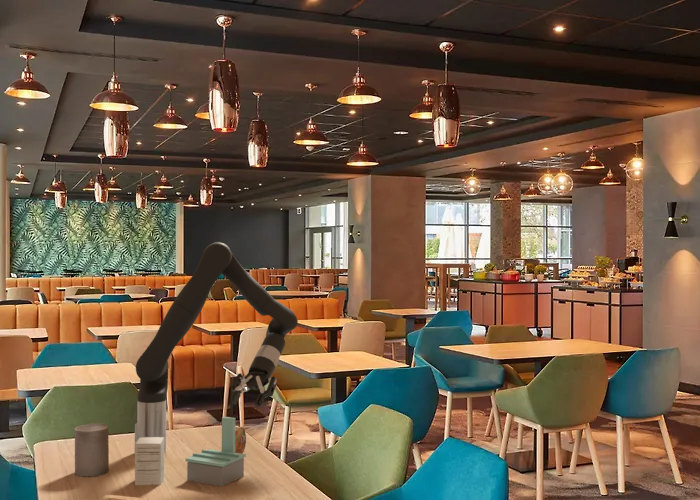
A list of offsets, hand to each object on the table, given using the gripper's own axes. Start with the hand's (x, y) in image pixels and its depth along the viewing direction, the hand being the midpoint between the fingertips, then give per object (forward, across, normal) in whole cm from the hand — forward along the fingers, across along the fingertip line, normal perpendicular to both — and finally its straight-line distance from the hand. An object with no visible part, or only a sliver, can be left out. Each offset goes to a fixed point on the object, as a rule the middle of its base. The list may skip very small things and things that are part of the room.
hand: (245, 404), depth 236 cm
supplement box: (+32, -15, -5) cm, 36 cm away
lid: (+20, 0, -1) cm, 20 cm away
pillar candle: (+32, -38, -4) cm, 50 cm away
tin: (+6, -11, +22) cm, 25 cm away
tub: (+25, 0, +3) cm, 25 cm away
